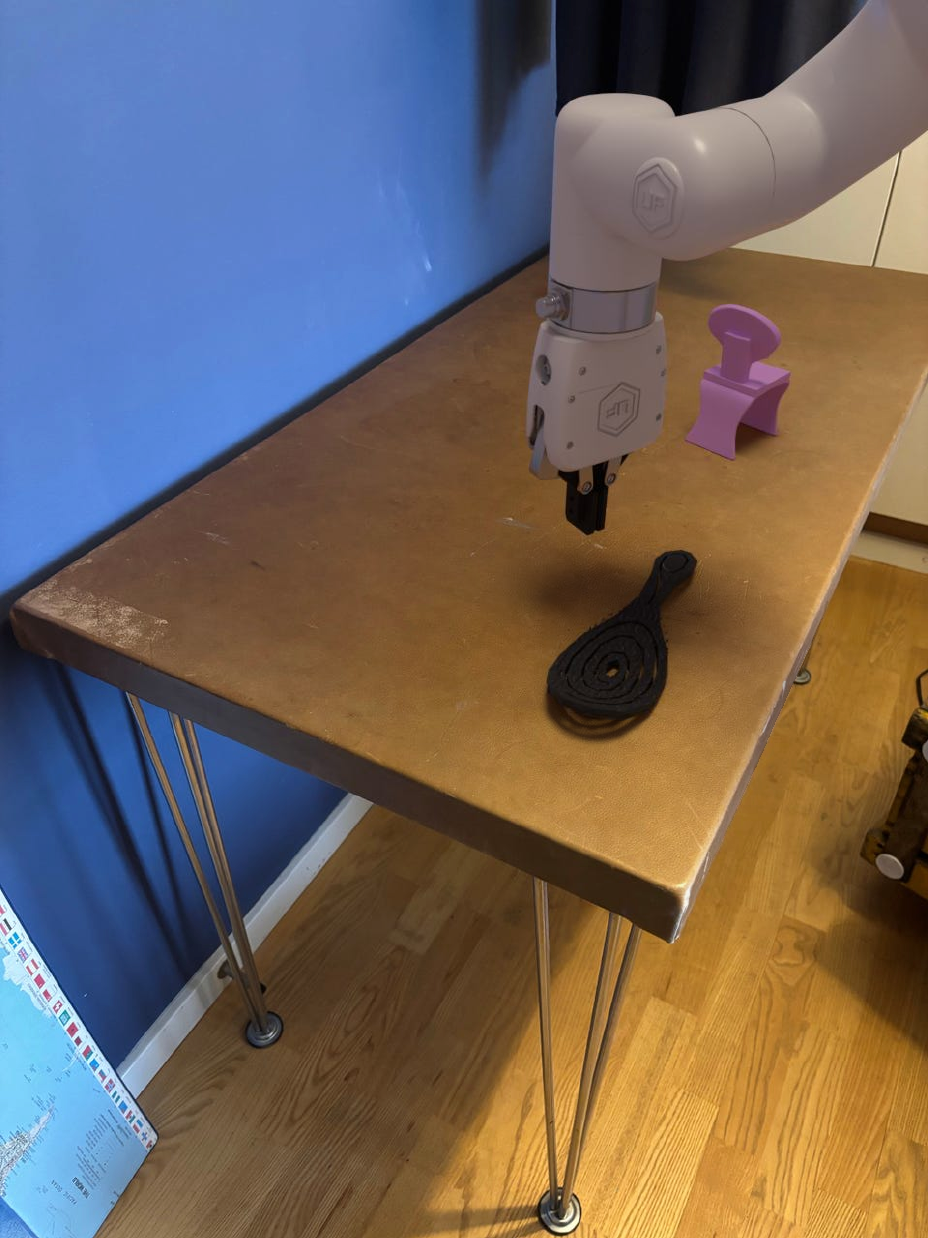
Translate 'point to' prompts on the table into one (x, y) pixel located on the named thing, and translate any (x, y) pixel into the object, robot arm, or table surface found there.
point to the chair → (739, 380)
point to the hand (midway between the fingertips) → (584, 524)
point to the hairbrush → (622, 651)
